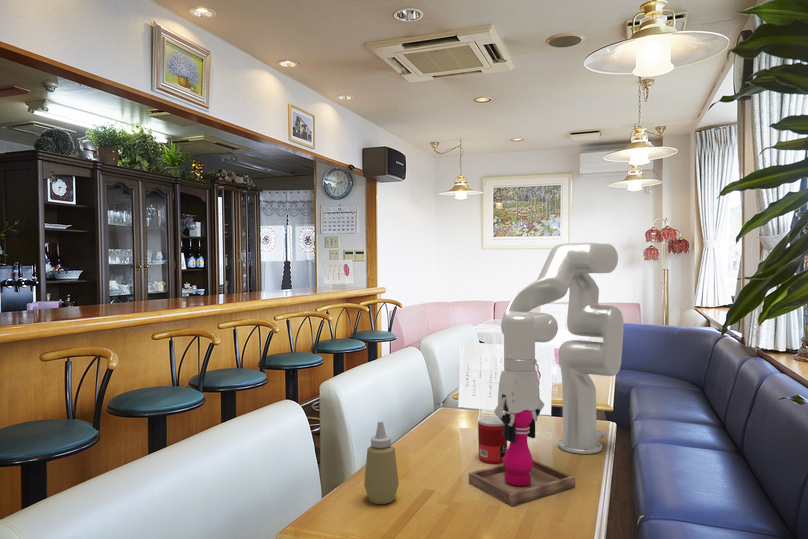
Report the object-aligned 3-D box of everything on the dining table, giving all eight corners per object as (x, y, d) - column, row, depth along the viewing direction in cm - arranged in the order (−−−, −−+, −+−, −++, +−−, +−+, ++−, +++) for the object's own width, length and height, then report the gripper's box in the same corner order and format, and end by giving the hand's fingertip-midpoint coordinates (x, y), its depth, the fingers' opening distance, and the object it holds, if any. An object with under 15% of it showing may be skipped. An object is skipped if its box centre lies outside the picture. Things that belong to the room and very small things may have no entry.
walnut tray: (528, 467, 147) (528, 458, 147) (575, 487, 133) (575, 477, 133) (468, 483, 137) (468, 473, 137) (512, 506, 123) (512, 495, 123)
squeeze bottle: (386, 510, 122) (385, 429, 122) (357, 502, 126) (356, 424, 126) (405, 496, 129) (404, 420, 129) (377, 490, 133) (376, 415, 133)
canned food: (507, 465, 149) (506, 424, 149) (477, 463, 151) (477, 423, 151) (507, 455, 157) (507, 417, 157) (479, 454, 158) (478, 415, 158)
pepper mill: (535, 479, 136) (538, 398, 137) (529, 489, 130) (532, 403, 130) (506, 474, 139) (509, 395, 140) (499, 483, 133) (502, 400, 133)
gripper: (534, 360, 143) (535, 430, 142) (482, 366, 134) (482, 440, 134) (556, 364, 136) (556, 437, 136) (502, 370, 127) (503, 449, 127)
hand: (520, 438), depth 135 cm, fingers open, 5 cm apart
